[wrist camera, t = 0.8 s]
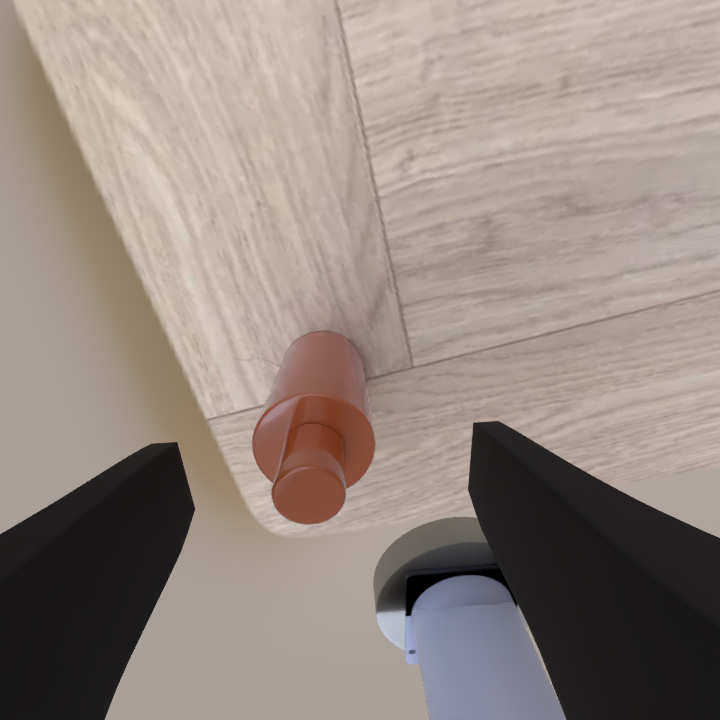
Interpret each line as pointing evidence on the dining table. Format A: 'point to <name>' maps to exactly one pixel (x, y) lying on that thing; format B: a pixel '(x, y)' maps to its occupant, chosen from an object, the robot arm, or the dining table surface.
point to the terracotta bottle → (315, 428)
